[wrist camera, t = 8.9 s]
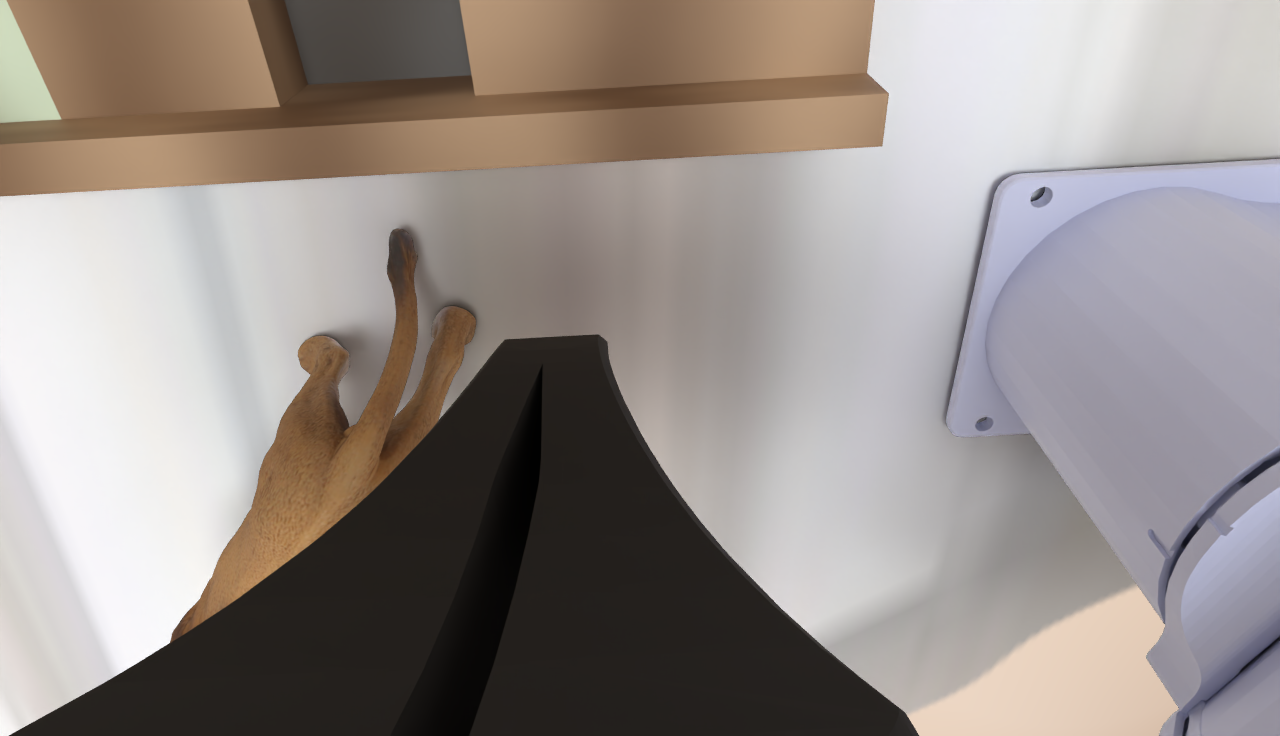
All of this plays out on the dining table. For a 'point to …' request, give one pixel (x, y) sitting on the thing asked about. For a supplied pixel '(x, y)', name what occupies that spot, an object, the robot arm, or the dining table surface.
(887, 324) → the dining table surface
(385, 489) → the robot arm
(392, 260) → the lion figurine
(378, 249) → the dining table surface
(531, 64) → the walnut lane
